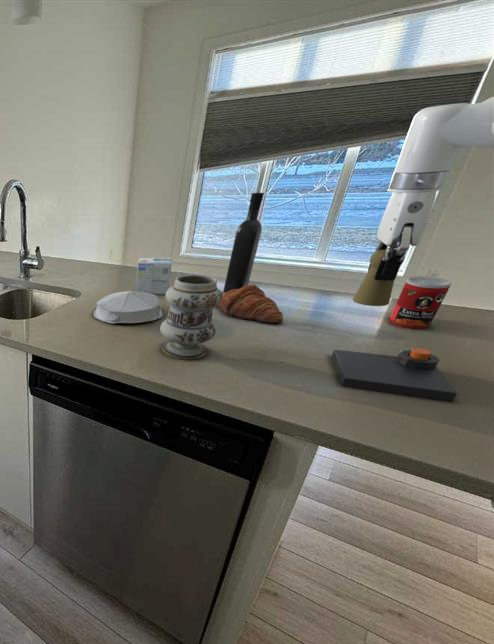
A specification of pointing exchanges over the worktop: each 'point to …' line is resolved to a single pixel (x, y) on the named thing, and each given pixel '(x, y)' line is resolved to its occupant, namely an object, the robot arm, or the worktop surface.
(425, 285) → the canned food
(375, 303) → the cork
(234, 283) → the wine bottle
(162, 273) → the light bulb box
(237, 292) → the pastry
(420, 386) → the scale
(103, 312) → the food container
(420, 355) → the button
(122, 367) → the worktop surface
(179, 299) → the apothecary jar
